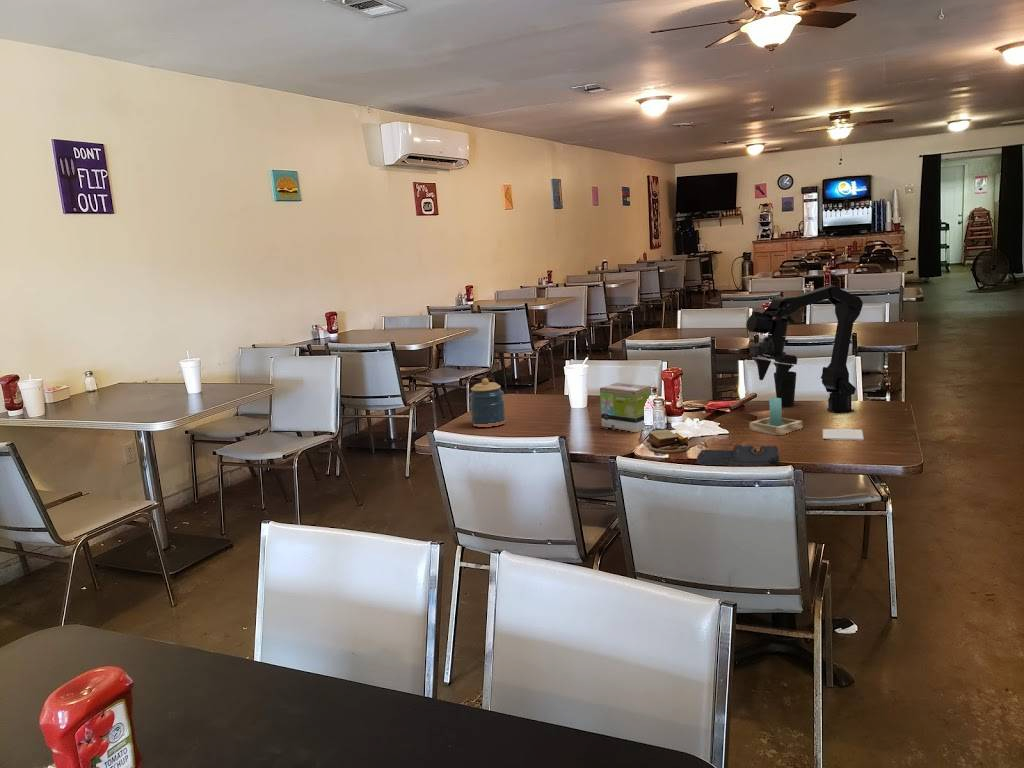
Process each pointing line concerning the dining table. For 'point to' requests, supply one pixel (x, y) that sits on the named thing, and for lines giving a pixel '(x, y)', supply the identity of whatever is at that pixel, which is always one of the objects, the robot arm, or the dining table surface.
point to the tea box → (624, 405)
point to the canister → (487, 403)
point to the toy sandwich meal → (667, 442)
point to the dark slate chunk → (740, 456)
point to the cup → (786, 389)
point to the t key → (775, 412)
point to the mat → (843, 434)
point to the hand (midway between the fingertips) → (768, 382)
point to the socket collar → (786, 427)
